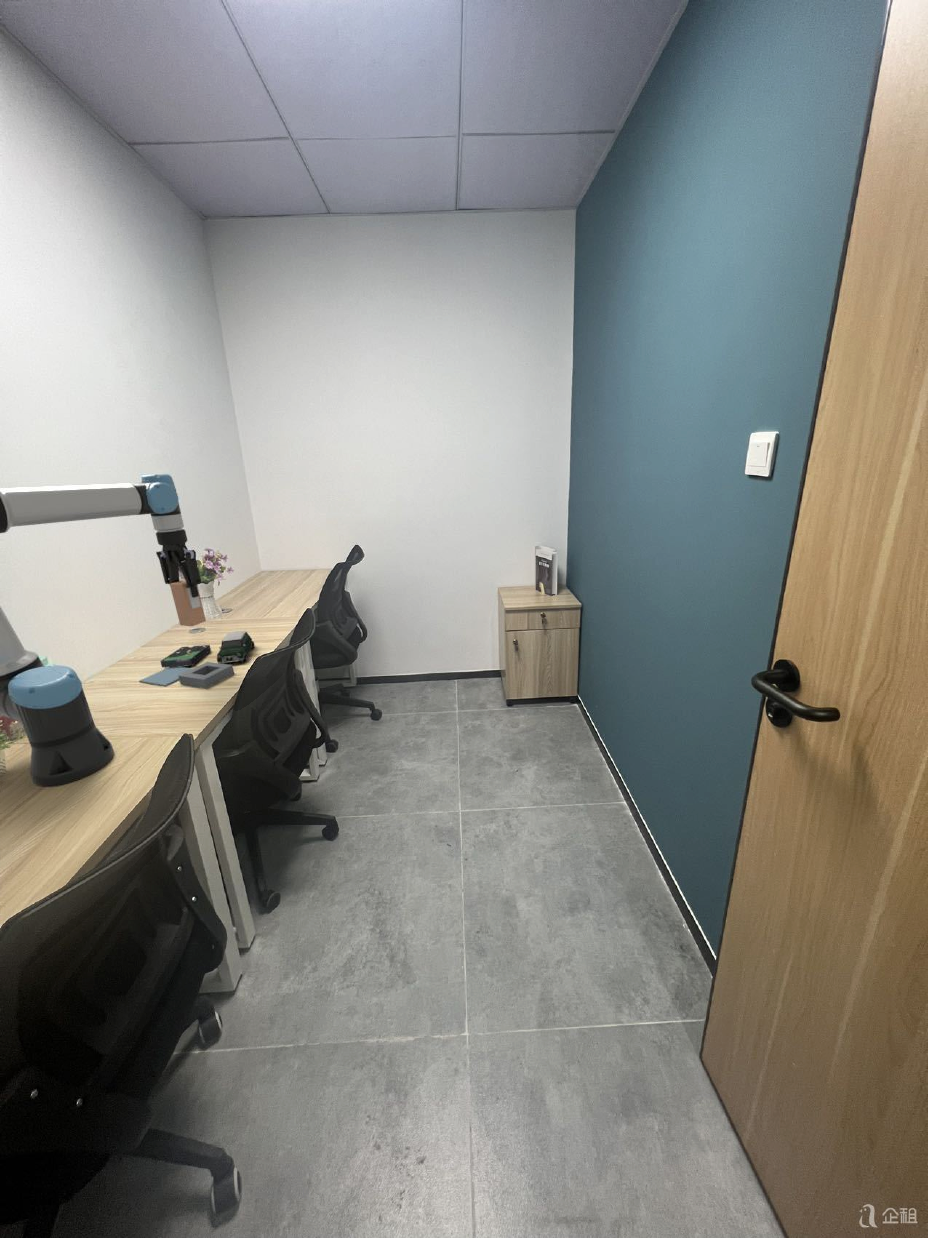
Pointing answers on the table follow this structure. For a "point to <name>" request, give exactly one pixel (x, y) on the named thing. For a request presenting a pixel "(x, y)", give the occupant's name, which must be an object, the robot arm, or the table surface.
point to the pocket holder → (206, 674)
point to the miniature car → (235, 647)
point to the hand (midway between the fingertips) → (189, 606)
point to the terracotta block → (186, 605)
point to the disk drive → (185, 656)
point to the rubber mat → (165, 676)
